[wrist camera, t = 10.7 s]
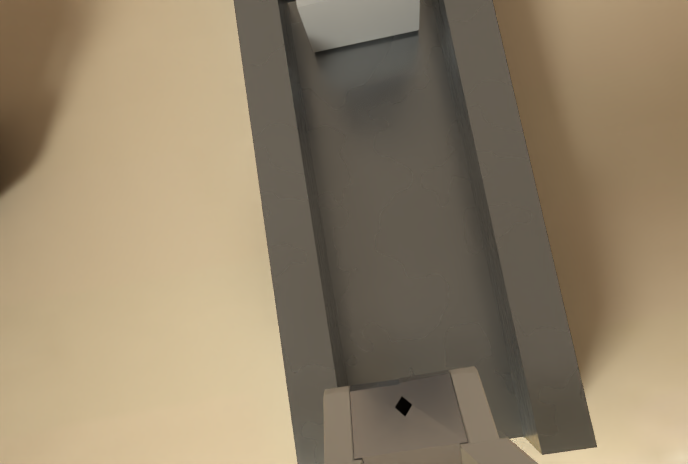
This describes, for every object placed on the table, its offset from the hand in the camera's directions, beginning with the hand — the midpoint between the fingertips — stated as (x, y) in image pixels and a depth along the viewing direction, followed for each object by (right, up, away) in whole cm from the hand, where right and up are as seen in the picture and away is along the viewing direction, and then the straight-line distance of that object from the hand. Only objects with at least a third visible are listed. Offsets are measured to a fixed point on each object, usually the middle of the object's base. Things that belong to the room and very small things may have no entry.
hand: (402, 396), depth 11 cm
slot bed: (+1, +4, +10) cm, 11 cm away
